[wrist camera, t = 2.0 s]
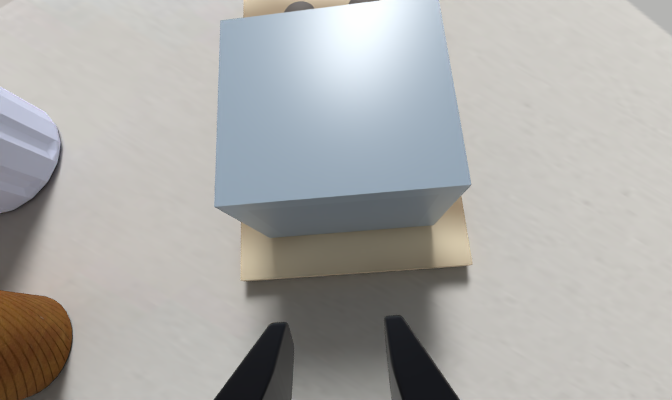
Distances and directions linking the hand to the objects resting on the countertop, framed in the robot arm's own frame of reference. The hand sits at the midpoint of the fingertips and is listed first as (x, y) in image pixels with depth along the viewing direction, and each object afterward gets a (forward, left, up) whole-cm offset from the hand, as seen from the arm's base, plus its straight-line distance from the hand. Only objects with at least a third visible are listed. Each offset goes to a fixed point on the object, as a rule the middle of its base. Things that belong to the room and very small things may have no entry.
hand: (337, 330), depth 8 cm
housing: (+4, -8, -12) cm, 15 cm away
